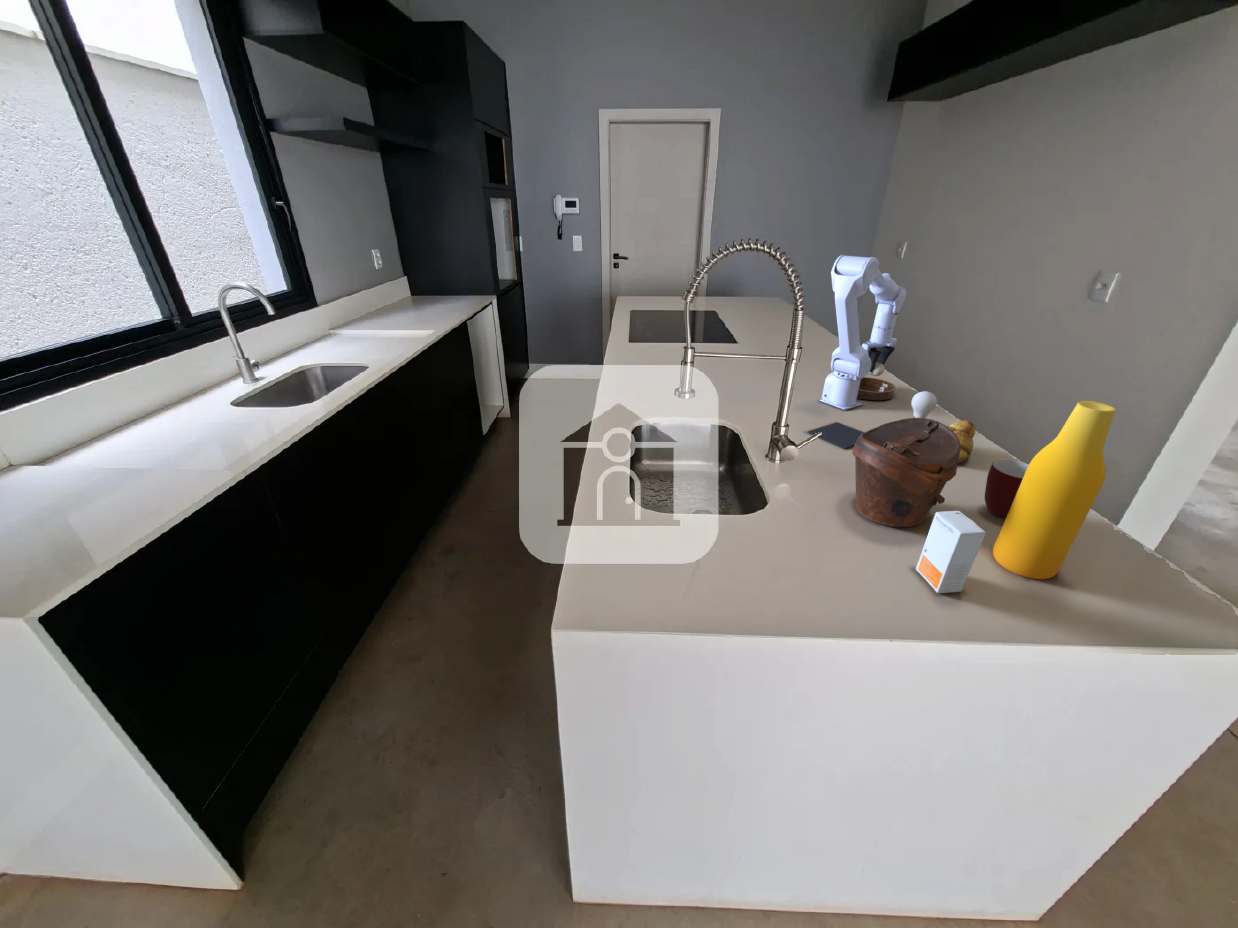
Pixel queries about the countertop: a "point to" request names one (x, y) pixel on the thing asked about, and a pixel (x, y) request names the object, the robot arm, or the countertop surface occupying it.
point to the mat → (838, 434)
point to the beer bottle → (1056, 495)
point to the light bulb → (923, 404)
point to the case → (903, 470)
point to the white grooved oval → (877, 369)
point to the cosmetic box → (949, 551)
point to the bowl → (875, 389)
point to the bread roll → (964, 437)
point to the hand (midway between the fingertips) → (873, 370)
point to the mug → (1003, 485)
